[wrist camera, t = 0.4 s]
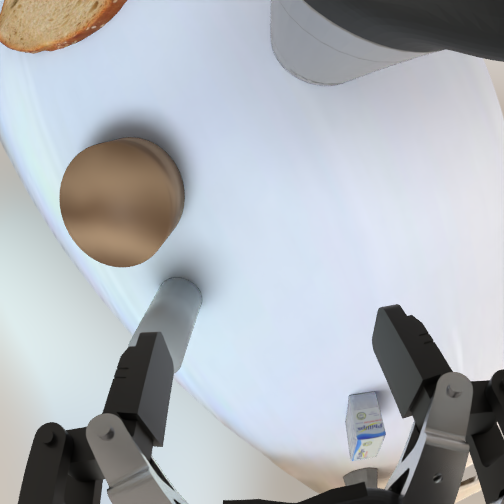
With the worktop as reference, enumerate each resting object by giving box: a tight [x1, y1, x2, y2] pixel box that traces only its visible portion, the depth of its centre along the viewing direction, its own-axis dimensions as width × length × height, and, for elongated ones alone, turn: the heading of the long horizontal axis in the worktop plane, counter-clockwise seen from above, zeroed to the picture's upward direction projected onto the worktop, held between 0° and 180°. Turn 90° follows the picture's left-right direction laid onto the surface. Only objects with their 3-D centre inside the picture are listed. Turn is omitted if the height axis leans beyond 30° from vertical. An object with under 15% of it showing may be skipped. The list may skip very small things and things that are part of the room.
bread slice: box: [0, 0, 127, 54], centre depth 18 cm, size 18×18×4 cm
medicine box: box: [345, 392, 386, 461], centre depth 39 cm, size 8×4×9 cm, turn 8°
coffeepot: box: [343, 468, 377, 488], centre depth 49 cm, size 15×9×18 cm, turn 44°
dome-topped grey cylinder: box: [128, 278, 202, 373], centre depth 30 cm, size 5×5×10 cm
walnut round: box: [60, 137, 185, 267], centre depth 27 cm, size 12×12×5 cm
